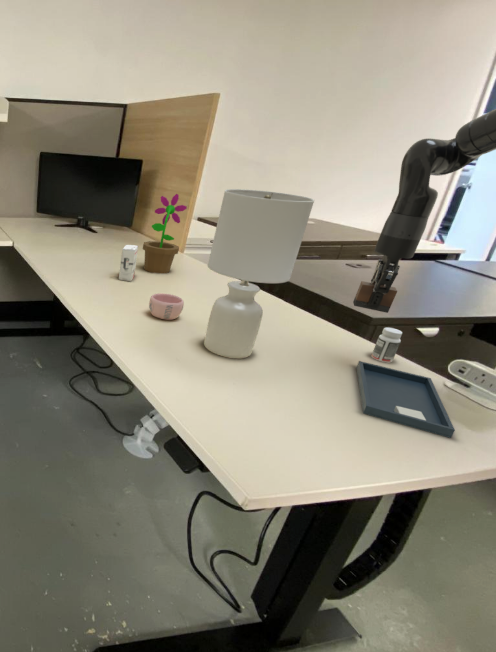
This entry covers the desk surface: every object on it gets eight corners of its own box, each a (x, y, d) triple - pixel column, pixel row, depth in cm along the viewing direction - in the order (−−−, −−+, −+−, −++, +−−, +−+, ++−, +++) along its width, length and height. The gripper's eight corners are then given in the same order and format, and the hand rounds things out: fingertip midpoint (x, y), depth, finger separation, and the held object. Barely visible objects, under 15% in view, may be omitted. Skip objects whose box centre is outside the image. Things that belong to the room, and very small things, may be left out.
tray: (355, 368, 117) (358, 360, 116) (427, 385, 111) (430, 378, 110) (362, 414, 97) (366, 405, 96) (450, 439, 91) (455, 430, 90)
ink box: (121, 274, 182) (126, 243, 177) (134, 276, 180) (139, 245, 175) (117, 279, 174) (122, 248, 169) (130, 281, 173) (136, 250, 168)
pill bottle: (393, 359, 124) (406, 331, 120) (390, 365, 121) (403, 335, 117) (372, 353, 127) (384, 325, 123) (369, 358, 123) (381, 329, 120)
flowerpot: (178, 270, 193) (193, 195, 181) (168, 277, 182) (184, 198, 169) (145, 263, 200) (158, 190, 187) (133, 270, 188) (146, 193, 176)
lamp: (229, 332, 133) (267, 190, 117) (282, 362, 118) (334, 202, 101) (175, 338, 127) (207, 188, 111) (222, 370, 111) (268, 200, 95)
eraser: (386, 308, 114) (395, 287, 111) (387, 313, 111) (397, 291, 108) (353, 302, 116) (361, 281, 114) (353, 305, 114) (362, 284, 111)
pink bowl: (184, 323, 137) (188, 305, 135) (151, 321, 137) (154, 302, 135) (173, 309, 148) (177, 291, 146) (142, 307, 148) (145, 289, 146)
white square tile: (418, 416, 96) (421, 411, 96) (424, 426, 93) (426, 421, 93) (393, 410, 98) (396, 405, 97) (398, 419, 95) (400, 414, 94)
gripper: (427, 242, 99) (393, 317, 106) (415, 232, 110) (386, 301, 118) (385, 236, 102) (355, 309, 109) (378, 227, 113) (351, 294, 121)
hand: (371, 304), depth 113 cm, fingers closed on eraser, 3 cm apart
